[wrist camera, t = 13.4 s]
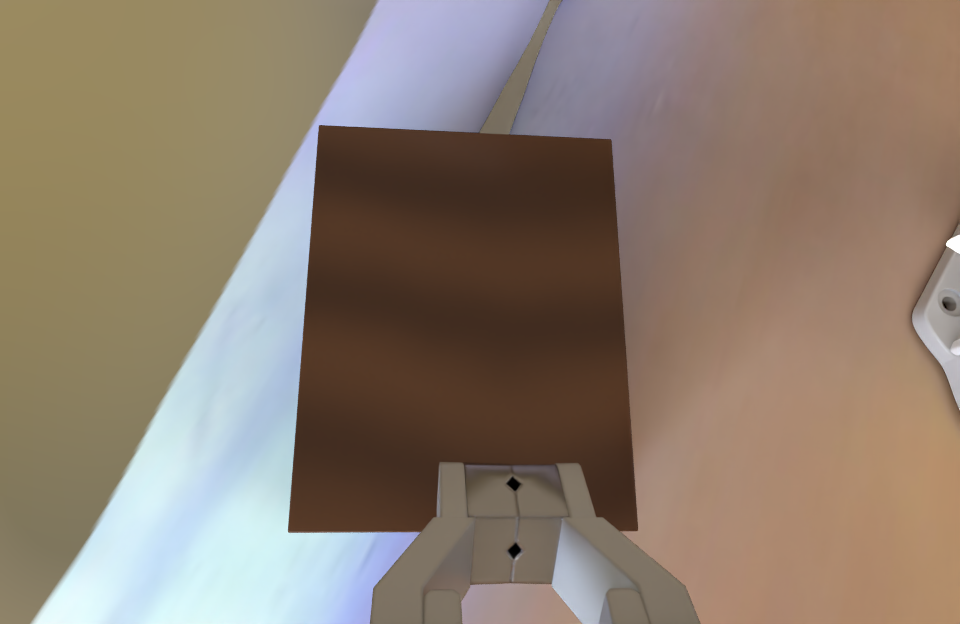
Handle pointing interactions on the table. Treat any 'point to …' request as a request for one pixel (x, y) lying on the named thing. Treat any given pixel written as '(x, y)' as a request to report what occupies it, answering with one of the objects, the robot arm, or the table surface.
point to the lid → (458, 323)
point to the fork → (518, 79)
